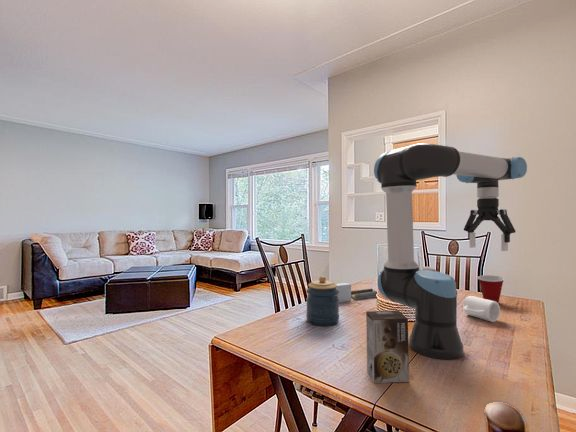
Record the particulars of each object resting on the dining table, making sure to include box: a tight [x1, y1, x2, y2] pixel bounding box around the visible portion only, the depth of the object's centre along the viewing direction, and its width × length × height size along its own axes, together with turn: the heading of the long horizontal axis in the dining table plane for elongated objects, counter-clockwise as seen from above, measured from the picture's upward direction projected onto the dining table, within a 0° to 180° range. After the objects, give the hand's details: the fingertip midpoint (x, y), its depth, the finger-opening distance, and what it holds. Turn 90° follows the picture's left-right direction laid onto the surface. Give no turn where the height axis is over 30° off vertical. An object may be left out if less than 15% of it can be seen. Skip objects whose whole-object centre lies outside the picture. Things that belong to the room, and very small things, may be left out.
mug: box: [462, 295, 501, 323], centre depth 121 cm, size 12×10×8 cm
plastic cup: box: [476, 274, 505, 304], centre depth 144 cm, size 11×11×12 cm
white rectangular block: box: [335, 282, 352, 303], centre depth 148 cm, size 9×4×8 cm, turn 113°
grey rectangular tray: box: [351, 288, 378, 301], centre depth 156 cm, size 17×8×2 cm, turn 113°
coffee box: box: [365, 310, 410, 384], centre depth 79 cm, size 9×6×16 cm
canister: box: [305, 275, 340, 327], centre depth 120 cm, size 13×13×18 cm
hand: (487, 249), depth 127 cm, fingers open, 13 cm apart
